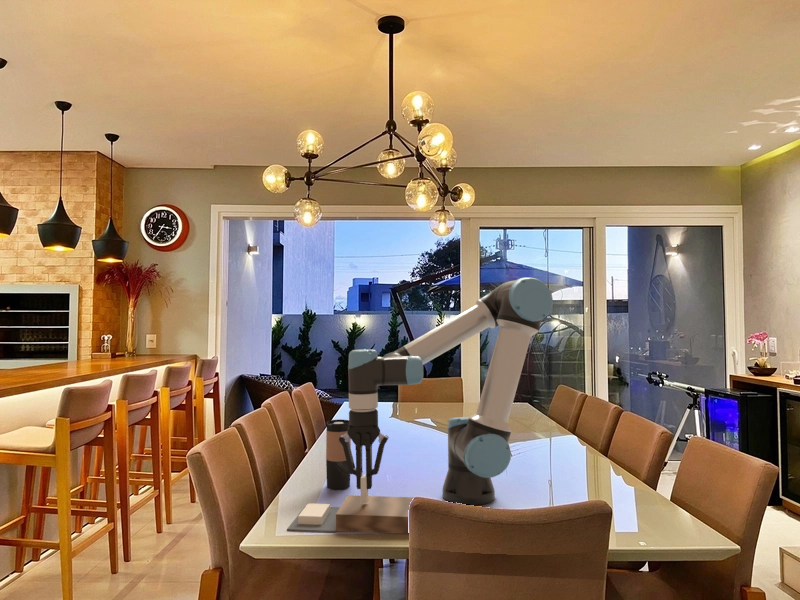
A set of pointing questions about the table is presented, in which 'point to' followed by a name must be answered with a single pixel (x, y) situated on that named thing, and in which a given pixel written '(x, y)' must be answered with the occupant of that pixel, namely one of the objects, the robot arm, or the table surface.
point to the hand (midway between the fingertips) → (364, 501)
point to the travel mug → (336, 455)
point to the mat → (327, 525)
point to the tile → (314, 514)
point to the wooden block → (374, 514)
